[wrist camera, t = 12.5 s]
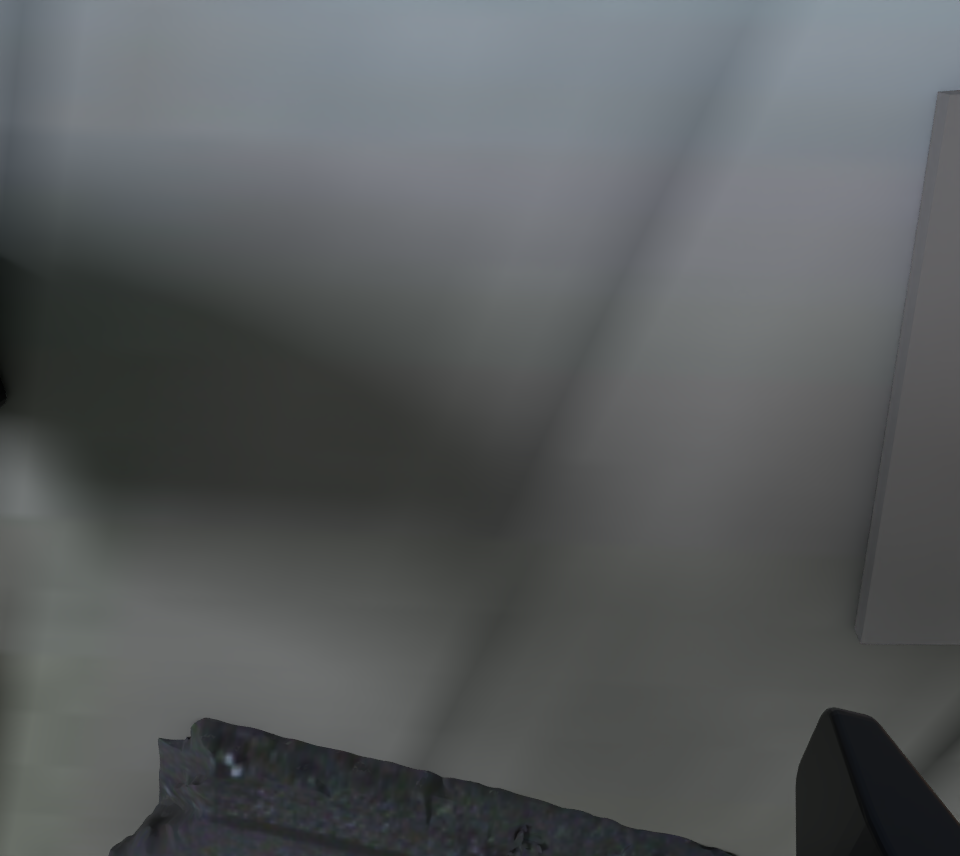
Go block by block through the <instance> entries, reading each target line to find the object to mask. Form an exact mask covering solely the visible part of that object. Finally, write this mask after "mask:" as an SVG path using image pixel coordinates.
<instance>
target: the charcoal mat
mask: <svg viewBox="0 0 960 856" xmlns="http://www.w3.org/2000/svg"><path fill="white" fill-rule="evenodd" d="M854 629H855V632H856V634H857V636H858V639H859V641H860V643H861V644H905V645H960V90H955V91H943V92H938V95H937V101H936V108H935V114H934V121H933V127H932V134H931V140H930V146H929V153H928V159H927V166H926V172H925V179H924V185H923V191H922V198H921V204H920V211H919V217H918V224H917V230H916V236H915V243H914V249H913V256H912V262H911V269H910V275H909V281H908V288H907V294H906V301H905V307H904V314H903V320H902V326H901V333H900V339H899V346H898V352H897V359H896V365H895V371H894V378H893V384H892V391H891V397H890V404H889V410H888V416H887V423H886V429H885V436H884V442H883V449H882V455H881V461H880V468H879V474H878V481H877V487H876V494H875V500H874V506H873V513H872V519H871V526H870V532H869V538H868V545H867V551H866V558H865V564H864V571H863V577H862V583H861V590H860V596H859V603H858V609H857V616H856V622H855V628H854Z"/></svg>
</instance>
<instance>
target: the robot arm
mask: <svg viewBox="0 0 960 856" xmlns="http://www.w3.org/2000/svg"><path fill="white" fill-rule="evenodd" d="M6 399H7V396H6V391H5V388H4V386H3V383H2V381H1V378H0V408H1V407H2V406H3V405H4V404H5V402H6ZM796 856H960V823H959V822H958V821H957V820H956V818H955V817H954V816H953V815H952V813H951V812H950V811H949V810H948V808H947V807H946V806H945V805H944V804H943V802H942V801H941V800H940V799H939V797H938V796H937V795H936V794H935V792H934V791H933V790H932V789H931V787H930V786H929V785H928V784H927V782H926V781H925V780H924V779H923V777H922V776H921V775H920V774H919V772H918V771H917V770H916V769H915V767H914V766H913V765H912V764H911V762H910V761H909V760H908V759H907V758H906V756H905V755H904V754H903V753H902V751H901V750H900V749H899V748H898V746H897V745H896V744H895V743H894V741H893V740H892V739H891V738H890V736H889V735H888V734H887V733H886V731H885V730H884V729H883V728H882V726H881V725H880V724H879V723H878V722H877V721H876V720H875V719H873V718H872V717H870V716H868V715H865V714H860V713H856V712H852V711H848V710H844V709H839V708H829V709H826V710H825V711H824V712H823V714H822V715H821V717H820V719H819V721H818V723H817V726H816V728H815V730H814V732H813V734H812V737H811V739H810V741H809V743H808V746H807V748H806V750H805V752H804V754H803V757H802V759H801V761H800V764H799V767H798V772H797V777H796Z"/></svg>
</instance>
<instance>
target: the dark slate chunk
mask: <svg viewBox="0 0 960 856" xmlns="http://www.w3.org/2000/svg"><path fill="white" fill-rule="evenodd" d="M158 745H159V754H160V771H159V786H160V795H159V804H158V805H157V806H156V808H155V810H154V811H153V813H152V814H151V815H149V816H148V817H147V818H146V819H145V821H144V822H143V824H142V825H141V826H140V827H139V829H138V830H137V831H136V832H135V833H134V834H133V835H132V836H128V837H126V838H125V839H124V840H123V841H122V842H120V843H118V844H116V845H115V846H114V847H113V848H112V849H111V850H110V853H109V856H732V855H730V854H728V853H726V852H724V851H723V850H720V849H717V848H711V847H704V846H702V845H700V844H698V843H696V842H694V841H692V840H689V839H687V838H684V837H680V836H676V835H671V834H665V833H657V832H651V831H646V830H637V829H633V828H629V827H626V826H623V825H621V824H619V823H618V822H616V821H614V820H611V819H608V818H600V817H596V816H593V815H591V814H589V813H586V812H583V811H579V810H575V809H566V808H561V807H558V806H556V805H553V804H550V803H547V802H544V801H541V800H538V799H534V798H530V797H526V796H522V795H519V794H515V793H512V792H510V791H507V790H504V789H499V788H490V787H487V786H484V785H482V784H479V783H475V782H471V781H464V780H459V779H455V778H442V777H440V776H438V775H437V774H435V773H432V772H430V771H425V770H417V769H412V768H409V767H405V766H402V765H399V764H396V763H393V762H388V761H381V760H377V759H372V758H367V757H362V756H358V755H355V754H352V753H349V752H345V751H340V750H335V749H331V748H325V747H320V746H316V745H312V744H309V743H306V742H302V741H299V740H295V739H288V738H283V737H280V736H277V735H274V734H271V733H268V732H265V731H262V730H259V729H255V728H251V727H244V726H237V725H232V724H229V723H225V722H222V721H219V720H215V719H210V718H204V719H201V720H199V721H197V722H196V723H194V724H193V726H192V727H191V738H188V737H187V738H186V739H185V740H169V739H162V738H159V739H158Z"/></svg>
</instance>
